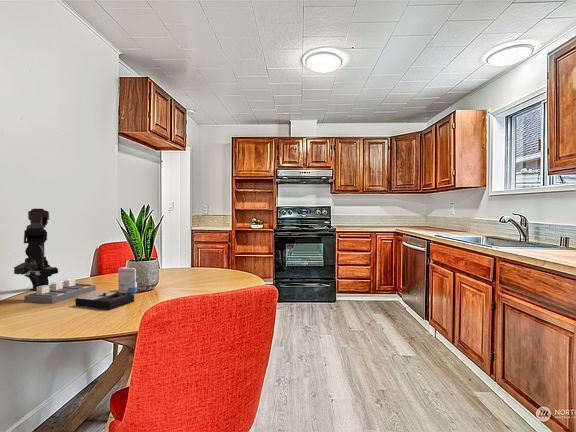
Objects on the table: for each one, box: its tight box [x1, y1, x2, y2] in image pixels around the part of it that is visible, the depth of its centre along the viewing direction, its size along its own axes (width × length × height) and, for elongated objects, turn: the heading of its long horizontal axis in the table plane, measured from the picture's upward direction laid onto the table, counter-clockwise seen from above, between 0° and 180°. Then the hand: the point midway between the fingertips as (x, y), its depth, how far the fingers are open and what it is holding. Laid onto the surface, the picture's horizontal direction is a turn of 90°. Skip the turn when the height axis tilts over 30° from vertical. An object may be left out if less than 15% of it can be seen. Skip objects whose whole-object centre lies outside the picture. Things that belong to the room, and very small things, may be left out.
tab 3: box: [63, 278, 76, 287], centre depth 168 cm, size 3×4×3 cm
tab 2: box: [50, 281, 64, 290], centre depth 161 cm, size 3×4×3 cm
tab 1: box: [36, 285, 50, 294], centre depth 154 cm, size 3×4×3 cm
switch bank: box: [23, 282, 97, 304], centre depth 161 cm, size 15×24×3 cm, turn 167°
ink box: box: [117, 266, 138, 294], centre depth 167 cm, size 9×5×12 cm, turn 84°
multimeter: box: [75, 290, 135, 311], centre depth 147 cm, size 13×19×5 cm
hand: (36, 289), depth 155 cm, fingers closed
